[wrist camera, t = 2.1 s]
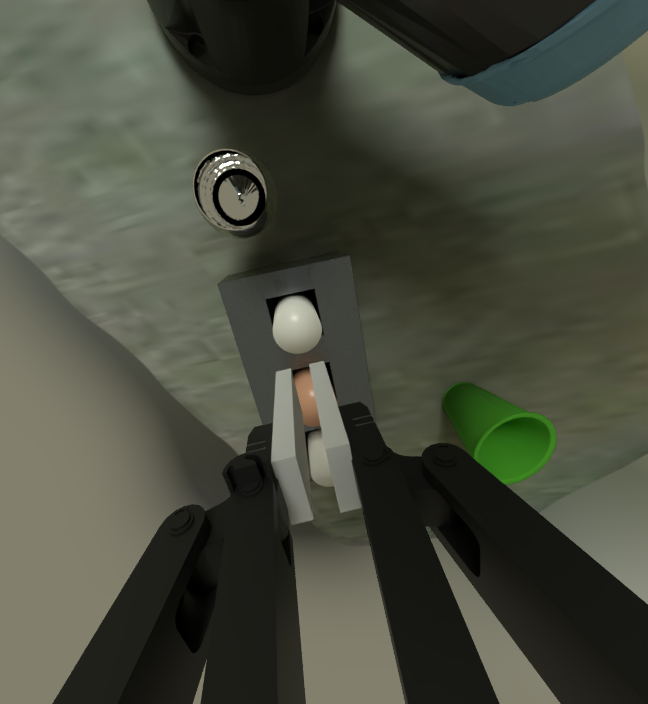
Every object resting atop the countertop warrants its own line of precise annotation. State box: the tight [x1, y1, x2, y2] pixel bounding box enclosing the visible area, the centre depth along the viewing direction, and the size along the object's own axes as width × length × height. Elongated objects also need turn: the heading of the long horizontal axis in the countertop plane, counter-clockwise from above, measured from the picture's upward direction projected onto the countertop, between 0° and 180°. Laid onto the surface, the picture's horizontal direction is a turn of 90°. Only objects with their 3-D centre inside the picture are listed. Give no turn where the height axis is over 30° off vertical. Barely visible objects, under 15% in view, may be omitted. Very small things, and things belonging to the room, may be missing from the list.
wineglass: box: [192, 148, 278, 239], centre depth 25 cm, size 6×6×12 cm
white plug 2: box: [306, 428, 334, 487], centre depth 34 cm, size 4×4×7 cm
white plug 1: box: [273, 292, 322, 354], centre depth 29 cm, size 4×4×7 cm
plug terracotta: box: [292, 367, 338, 427], centre depth 31 cm, size 4×4×7 cm
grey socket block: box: [218, 252, 376, 480], centre depth 35 cm, size 24×12×6 cm, turn 11°
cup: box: [443, 382, 556, 485], centre depth 37 cm, size 9×9×11 cm
